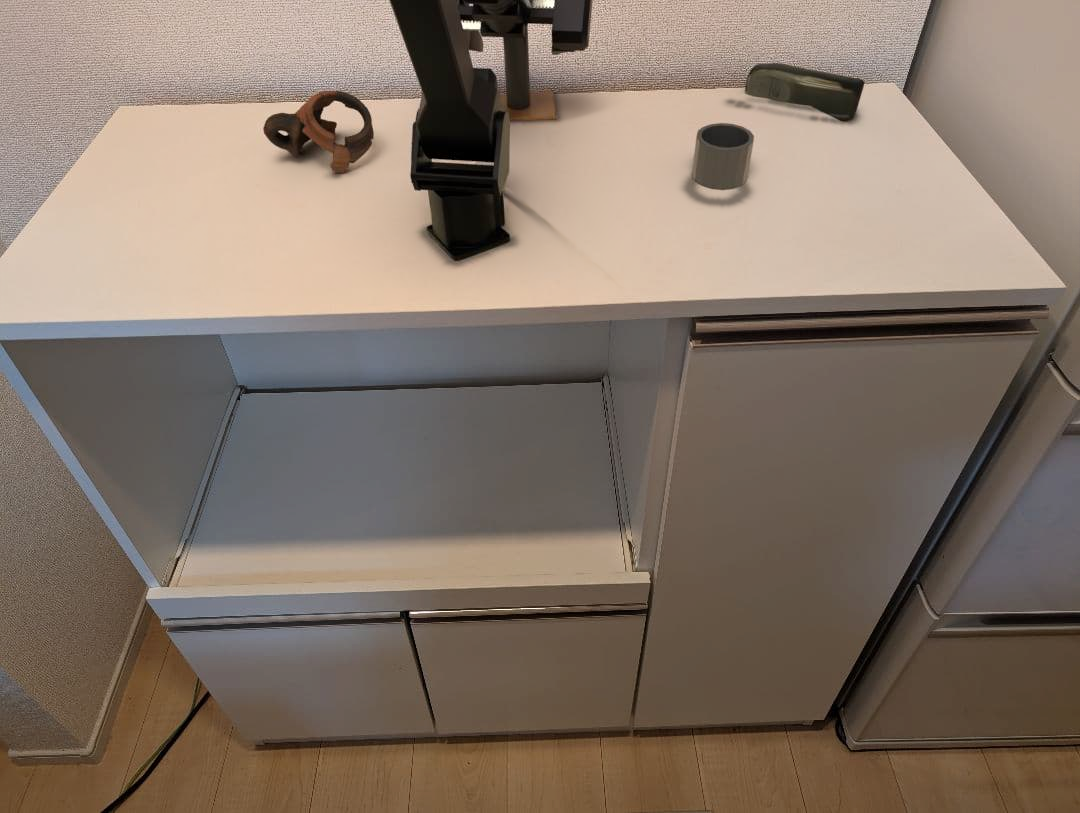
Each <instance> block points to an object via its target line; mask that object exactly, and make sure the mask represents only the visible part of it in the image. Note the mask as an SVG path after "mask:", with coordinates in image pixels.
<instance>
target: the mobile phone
mask: <svg viewBox="0 0 1080 813" xmlns="http://www.w3.org/2000/svg"><path fill="white" fill-rule="evenodd" d="M748 72H749V73H748V75H747V77H746V80H745V89H744V94H745V95H747V96H750V97H754V98H762V99H767V100H771V101H774V102H778V103H784V104H792V105H799V106H807V107H811V108H813V109H815V110H817V111H819V112H821V113H823V114H825V115H828V116H830V117H831V118H833V119H835V120H837V121H845V120H846V121H847V120H849V119H850V120H851V119H853V118H854V117H855V115H856V114H857V112H858V108H859V104H860V102H861V98H862V94H863V90H864V87H865V80H864V79H861V78H857V77H852V76H846V75H841V74H838V73H837V74H836V73H832V72H826V71H821V70H816V69H811V68H810V69H809V68H804V67H802V66H801V67H800V66H796V65H791V64H787V63H781V62H772V63H757V64H755V65H753V66H752V68H751V69H750V71H748Z"/></svg>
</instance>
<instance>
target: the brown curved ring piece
mask: <svg viewBox="0 0 1080 813" xmlns="http://www.w3.org/2000/svg"><path fill="white" fill-rule="evenodd" d="M334 102H338V103H341V104H343V105H344V107H345V108H348V109H352V110H354V111H357V112H358V113H359V114H360V116H361V118H362V120H363V127H362V128H361V130H360V131H358V132H357V133H355V134H353V135H345V136H344V144H341V143H338V142H337V143H336V141H335V137H336V128H337V126H338V123H337V122H336V121H332V120H327V119H323V118H322V114H323V111H324V109H325V108H327V107H329V106H331V104H333V103H334ZM262 128H263V129H262V130H263V134H264V135H265V136H266V138H267V140H268V141H269V142H270V143H271V144H273V145H274V146H275V147H277V148H278V149H282V150H285V151H287V152H288V153H290V155H291V156H292V157H293V158H295V159H298V158H299V157H300V153H301V151H302V149H303V148H304V145H305V144H306V143H308V142H309V141H310V140H311V141H312V142H314V143H316V145H318V146H319V147H320V148H322V149H323V150H325V151H327V152H328V153H330V154H332V162H331V164H330V169H331V171H332V172H335V173H340V174H343V173H346V171H347V169H349V168H350V164H354V163H356V162H357V161H359V160H360V159H361V158H362V157H363V156H364V155H365V154H366V153H367V152H368V151H369V150H370V148H371V147H372V145H373V141H372V140H373V139H374V137H375V136H374V135H375V134H374V132H375V131H374V128H373V119H372V114H371V112H370V110H369V108H368V107H367V106H366V105H365V104H364V103H363V101H361V100H360V99H359V98H358V97H356V96H355V95H353V94H350V93H348V92H345V91H340V90H323V91H319V92H318V93H314V94H313V95H312V96H311V97H310V98H309V99H308V100H307V101H306V102H305V103H304V104H303V105H301V106H300V107H299V109H298V110H296V111H295V113H287V112H286V113H285V112H278V113H274V114H272V115H270V116H268V117H267V119H266V120H265V122H264V124H263V127H262ZM281 132H285V133H287V134H286V135H284V134H283V133H281Z"/></svg>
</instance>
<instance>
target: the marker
mask: <svg viewBox="0 0 1080 813" xmlns="http://www.w3.org/2000/svg"><path fill="white" fill-rule="evenodd" d="M502 40H503V41H502V42H503V44H502V46H503V62H504V78H505V94H506V99H507V107H508V108H510V109H513V110H523V109H526V108H528V107H529V106H530V92H531V82H530V79H531V78H530V52H529V48H530V47H529V24H528V25H527V26H526V27H525V36H524V38H508V37H502Z"/></svg>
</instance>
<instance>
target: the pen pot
mask: <svg viewBox="0 0 1080 813" xmlns="http://www.w3.org/2000/svg"><path fill="white" fill-rule="evenodd" d="M754 140H755V136H754V134H753V132H752V131H751V130H750V129H747V127H744V126H742V125H738V124H735V123H726V122H716V123H710V124H707V125H704V126H702V127H700V128H699V129H698V130H697V132H696V138H695V146H694V154H693V160H692V161H693V162H692V170H691V177H692V179H693V180H694V182H695V183H697V184H699V185H700V186H701V187H704V188H707V189H711V190H717V191H727V190H733V189H737V188H739V187H742V186H743V185H744V184H745V183H746V182H747V181H748V175H749V170H750V164H751V158H752V153H753V148H754Z"/></svg>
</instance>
